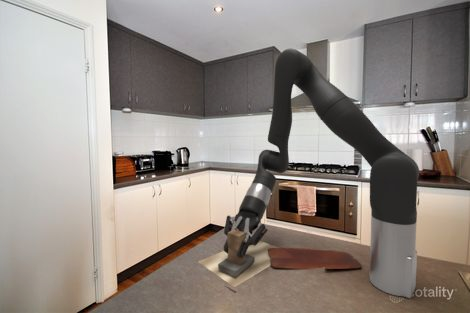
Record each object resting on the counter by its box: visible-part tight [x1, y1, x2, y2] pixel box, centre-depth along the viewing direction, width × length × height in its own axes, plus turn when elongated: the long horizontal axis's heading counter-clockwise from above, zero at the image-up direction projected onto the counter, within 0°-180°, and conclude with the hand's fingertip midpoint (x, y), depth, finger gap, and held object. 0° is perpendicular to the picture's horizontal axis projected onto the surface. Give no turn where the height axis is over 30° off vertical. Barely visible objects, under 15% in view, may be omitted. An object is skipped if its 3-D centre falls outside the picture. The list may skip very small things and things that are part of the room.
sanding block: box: [218, 229, 254, 277], centre depth 63 cm, size 6×9×10 cm, turn 142°
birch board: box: [198, 240, 278, 294], centre depth 69 cm, size 16×24×2 cm, turn 132°
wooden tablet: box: [267, 247, 363, 270], centre depth 67 cm, size 27×10×2 cm, turn 92°
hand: (232, 254), depth 62 cm, fingers closed on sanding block, 4 cm apart
